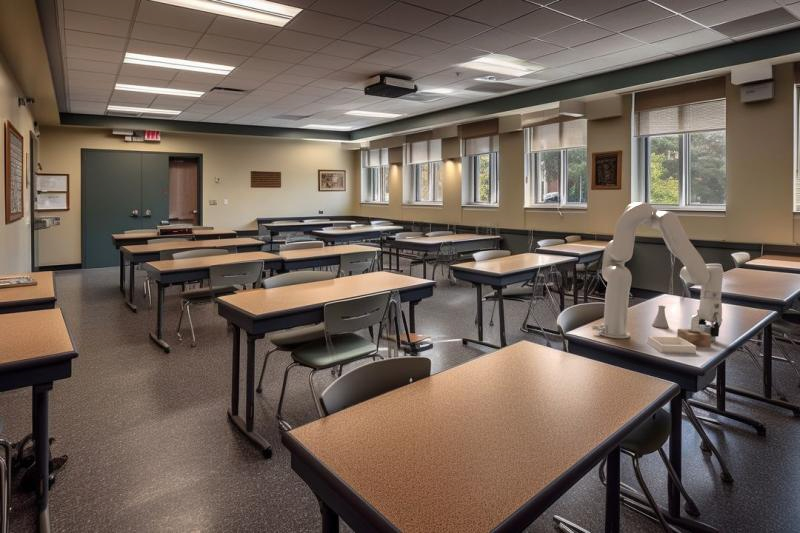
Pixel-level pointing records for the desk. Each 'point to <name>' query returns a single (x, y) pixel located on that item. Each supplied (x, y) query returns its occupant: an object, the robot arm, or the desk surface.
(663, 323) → the flask
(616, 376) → the desk surface
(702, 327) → the block
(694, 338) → the block
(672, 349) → the tray
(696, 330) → the pin gauge
